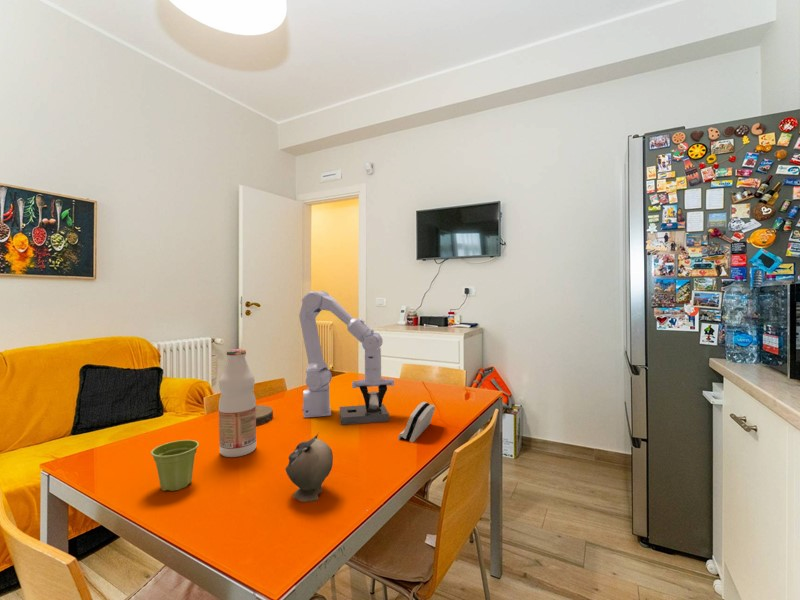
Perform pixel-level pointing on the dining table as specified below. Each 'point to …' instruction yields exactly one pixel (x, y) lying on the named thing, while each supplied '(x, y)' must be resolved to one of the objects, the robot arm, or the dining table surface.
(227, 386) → the fruit juice
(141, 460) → the dining table surface
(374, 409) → the cylinder
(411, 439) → the white black-striped wedge
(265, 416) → the grey round disc
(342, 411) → the fitting block
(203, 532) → the dining table surface
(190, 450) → the plant pot
